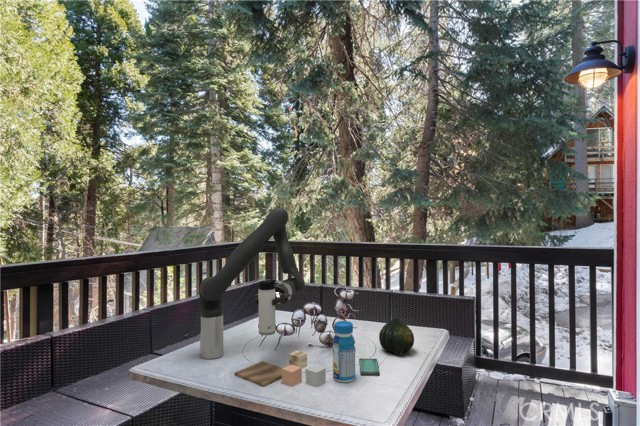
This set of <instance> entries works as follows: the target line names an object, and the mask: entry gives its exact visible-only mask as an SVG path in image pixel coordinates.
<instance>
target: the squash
mask: <svg viewBox="0 0 640 426" xmlns="http://www.w3.org/2000/svg"><path fill="white" fill-rule="evenodd" d="M378 340H379V344H380V346H381V348H382V349H383V350H384V351H386V352H392V353H393V352H394V354H395V355H397V356H400V355H402V354H404V355H405V354H408V353H409V352H410V350H411V349H412V348H413V346H414V344H415V336H414V332H413V331H412V329H411V328H410V327H409V326H408V325H407V324H406V323H405V322H404V321H403V319H401V318H400V317H399V316H397V317H394V318H392V319H391V320H389V321H387V322H386V323H385V324H384V325H383V326H382V328H381V329H380V331H379V334H378Z"/></svg>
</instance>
